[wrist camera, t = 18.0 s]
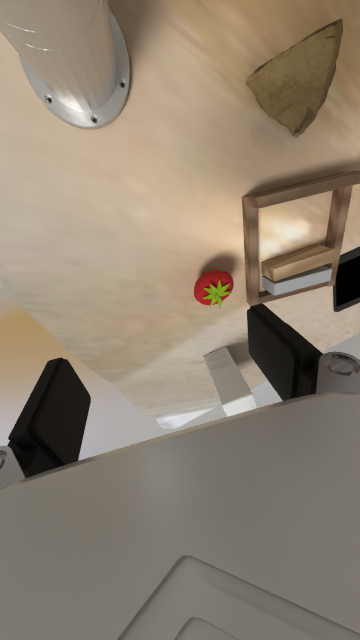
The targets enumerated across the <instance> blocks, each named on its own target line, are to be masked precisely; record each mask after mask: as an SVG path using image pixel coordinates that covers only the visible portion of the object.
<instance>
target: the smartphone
mask: <svg viewBox="0 0 360 640" xmlns="http://www.w3.org/2000/svg"><path fill="white" fill-rule="evenodd" d="M359 302H360V247H358V248H356V249H354V250H351V251H349V252H347V253H345V254H343V255H340V258H339V263H338V269H337V274H336V280H335V285H333V303H334V311H335V312H339V311H341V310H343V309H346V308H348V307H350V306H353V305H355V304H357V303H359Z"/></svg>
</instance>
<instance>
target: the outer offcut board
mask: <svg viewBox="0 0 360 640" xmlns="http://www.w3.org/2000/svg"><path fill="white" fill-rule="evenodd" d="M331 273H332V269H331V268H329V267H326V266H323V265H322V266H319V267H316V268H313V269H310V270H307V271H304V272H301V273H298V274H295V275H292V276H290V277H287V278H284V279H281V280H278V281H275V282H274V281H273V280H271V279H269V278H268V277H266V276H262V287H263V288H264V289H266V290H267V291H268V292H270V293H271V294H272V295H274V296H275V295H279V294H283V293H286V292H290V291H294V290H298V289H301V288H305V287H309V286H312V285H316V284H320V283H324V282H327V281H330V279H331Z"/></svg>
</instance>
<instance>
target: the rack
mask: <svg viewBox="0 0 360 640" xmlns="http://www.w3.org/2000/svg"><path fill="white" fill-rule="evenodd" d="M359 183H360V171H352V172H343V173H339V174H335V175H330V176H326V177H322V178H318V179H314V180H310V181H306V182H302V183H298V184H294V185H290V186H285V187H281V188H277V189H273V190H269V191H265V192H261V193H257V194H253V195H249V196H245V197H242V206H243V227H244V249H245V271H246V293H247V303H248V304H249V305H250V306H253V305H257V304H260V303H265V302H269V301H272V300H276V299H280V298H283V297H287V296H291V295H295V294H298V293H302V292H306V291H309V290H313V289H317V288H320V287H324V286H328V287H329V286H333V285H335V280H336V274H337V269H338V263H339V258H340V252H341V247H342V241H343V236H344V230H345V225H346V219H347V214H348V209H349V203H350V198H351V192H352V187H353V185H355V184H359ZM331 190H333V195H332V202H331V209H330V216H329V223H328V230H327V237H326V244H325V247H328V248H332V249H334V257H333V262H331V263H328V264H325V265H323V266H326V267H329V268H331V269H332V273H331V279H330V281H327V282H324V283H320V284H316V285H312V286H309V287H305V288H301V289H298V290H294V291H290V292H286V293H283V294H279V295H275V296H274V295H272V294H271V293H270V292H268V291H265V292H261V293H258V225H257V208H263V207H267V206H271V205H275V204H279V203H283V202H287V201H291V200H295V199H299V198H303V197H307V196H311V195H315V194H319V193H323V192H327V191H331Z"/></svg>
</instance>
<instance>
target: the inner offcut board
mask: <svg viewBox="0 0 360 640" xmlns="http://www.w3.org/2000/svg"><path fill="white" fill-rule="evenodd" d="M333 257H334V249H332V248H328V247H324V246H321V245H317V244H315V245H312V246H309V247H306V248H303V249H300V250H297V251H294V252H291V253H288V254H285V255H282V256H279V257H276V258H273V259H270V260H267V261H264V262H261V268H262V274H263V275H265V276H266V277H268V278H269V279H271V280H273V281H274V282H275V281H278V280H281V279H284V278H287V277H290V276H292V275H295V274H298V273H301V272H304V271H307V270H310V269H313V268H316V267H319V266H322V265H325V264H328V263H331V262H333Z"/></svg>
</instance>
